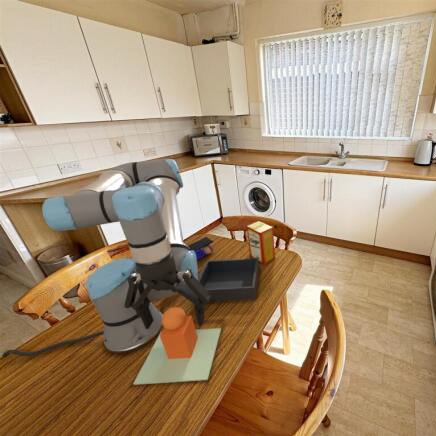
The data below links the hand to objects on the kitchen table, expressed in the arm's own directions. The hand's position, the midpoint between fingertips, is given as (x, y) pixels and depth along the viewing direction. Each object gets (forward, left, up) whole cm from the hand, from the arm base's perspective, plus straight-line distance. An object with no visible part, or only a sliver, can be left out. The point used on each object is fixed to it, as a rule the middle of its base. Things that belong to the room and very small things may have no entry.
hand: (176, 323), depth 62 cm
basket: (+8, +26, -10) cm, 29 cm away
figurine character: (-10, +45, -10) cm, 47 cm away
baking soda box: (+19, +43, -10) cm, 48 cm away
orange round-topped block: (0, 0, -9) cm, 9 cm away
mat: (0, 0, -10) cm, 10 cm away
